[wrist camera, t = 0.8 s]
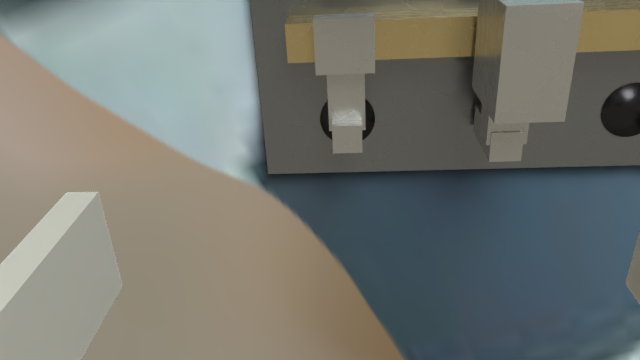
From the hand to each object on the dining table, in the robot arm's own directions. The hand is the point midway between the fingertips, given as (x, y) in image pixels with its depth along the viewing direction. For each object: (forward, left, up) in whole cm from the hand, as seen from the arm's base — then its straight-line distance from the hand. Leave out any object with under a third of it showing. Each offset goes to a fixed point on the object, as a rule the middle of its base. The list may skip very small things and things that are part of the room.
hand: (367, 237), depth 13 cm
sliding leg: (+1, +7, -19) cm, 21 cm away
